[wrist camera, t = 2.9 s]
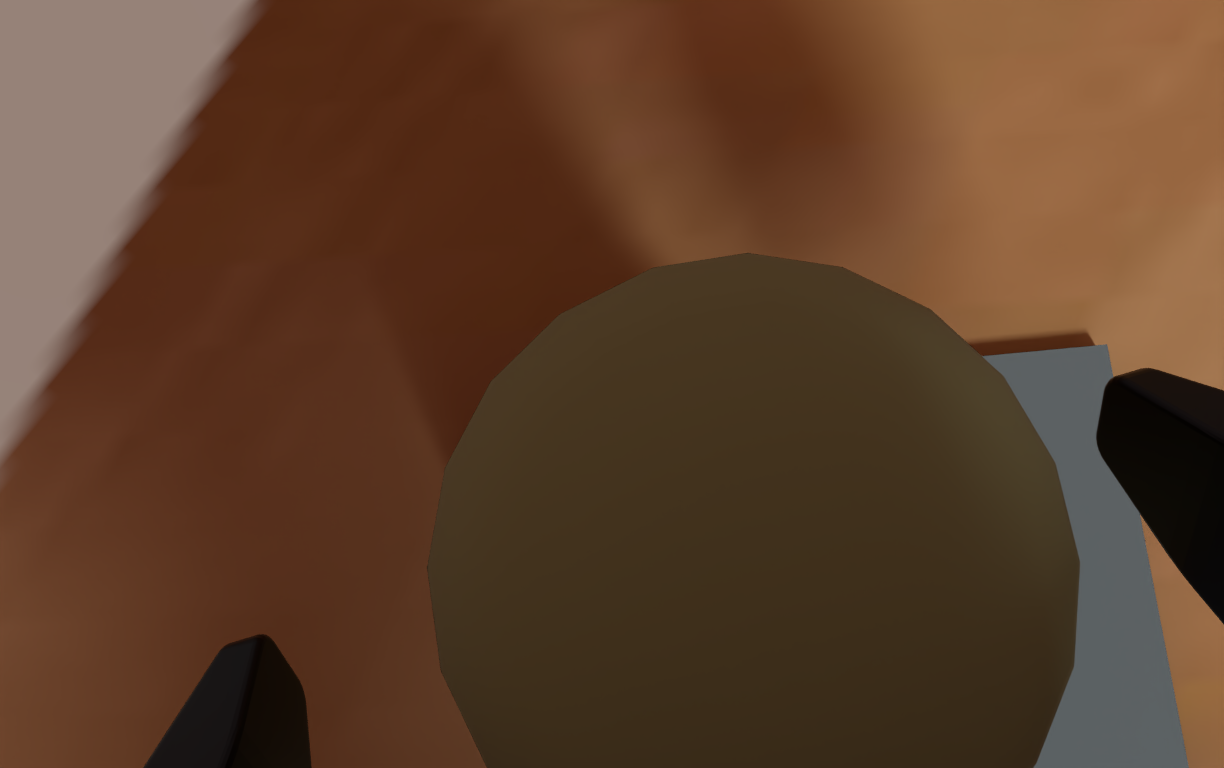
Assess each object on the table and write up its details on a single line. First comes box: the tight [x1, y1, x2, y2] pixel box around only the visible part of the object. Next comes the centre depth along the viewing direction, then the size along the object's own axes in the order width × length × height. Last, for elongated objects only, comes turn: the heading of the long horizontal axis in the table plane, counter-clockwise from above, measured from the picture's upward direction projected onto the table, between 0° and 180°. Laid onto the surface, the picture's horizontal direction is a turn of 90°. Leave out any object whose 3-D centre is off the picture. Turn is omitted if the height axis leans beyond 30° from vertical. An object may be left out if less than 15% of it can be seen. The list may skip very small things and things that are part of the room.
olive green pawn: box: [427, 253, 1080, 768], centre depth 11 cm, size 6×6×11 cm
